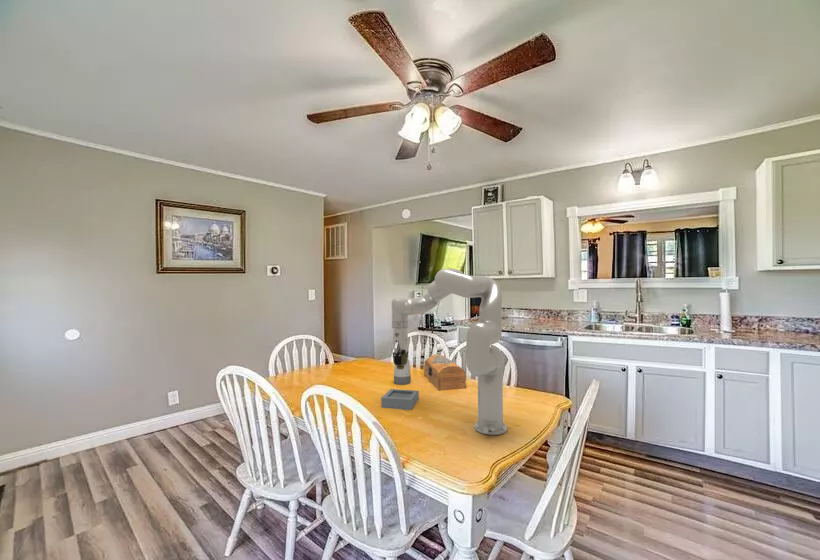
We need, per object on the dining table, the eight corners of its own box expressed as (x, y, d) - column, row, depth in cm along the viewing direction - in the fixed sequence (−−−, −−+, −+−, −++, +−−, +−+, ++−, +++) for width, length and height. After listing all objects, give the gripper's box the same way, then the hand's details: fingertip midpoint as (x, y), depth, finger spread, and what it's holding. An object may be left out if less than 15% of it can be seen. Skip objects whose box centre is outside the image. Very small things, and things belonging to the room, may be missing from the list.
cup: (389, 368, 173) (389, 351, 173) (401, 366, 178) (401, 349, 178) (399, 371, 168) (399, 353, 168) (411, 369, 172) (411, 351, 173)
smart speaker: (404, 381, 212) (404, 357, 212) (414, 385, 204) (413, 360, 204) (390, 384, 206) (390, 359, 206) (399, 388, 199) (399, 362, 199)
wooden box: (422, 378, 219) (422, 355, 219) (448, 376, 222) (448, 353, 223) (435, 393, 190) (435, 366, 190) (466, 391, 193) (466, 364, 193)
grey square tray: (411, 411, 164) (411, 399, 164) (381, 409, 168) (381, 397, 168) (418, 401, 178) (418, 390, 178) (391, 399, 182) (390, 388, 182)
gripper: (402, 327, 164) (403, 367, 164) (412, 322, 181) (412, 359, 180) (386, 326, 166) (387, 366, 166) (397, 322, 182) (398, 358, 182)
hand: (400, 362), depth 173 cm, fingers closed on cup, 7 cm apart
